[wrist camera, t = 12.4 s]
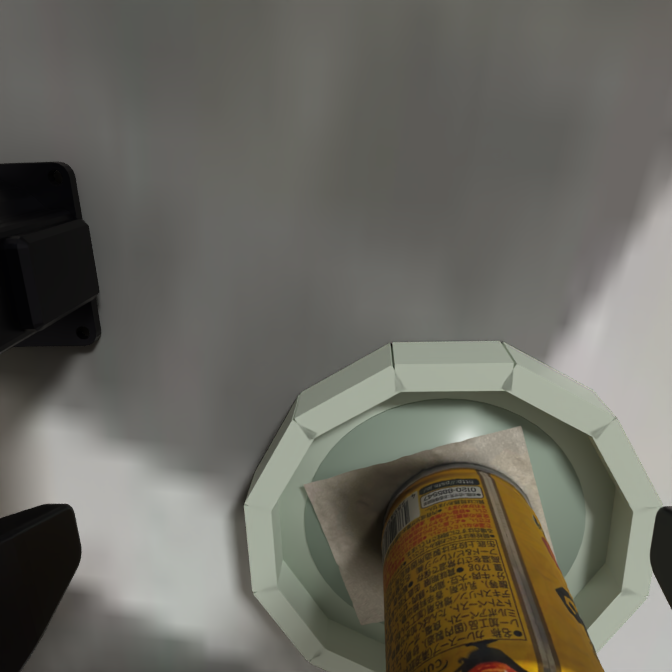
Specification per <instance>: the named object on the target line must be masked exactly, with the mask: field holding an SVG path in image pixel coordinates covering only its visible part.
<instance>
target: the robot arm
mask: <svg viewBox="0 0 672 672" xmlns="http://www.w3.org/2000/svg"><path fill="white" fill-rule="evenodd" d="M56 170H57V171H59V172H60V173H61V175H62V177H63V180H62V183H61V184H58V183H57V182H56V181H55V179H54V172H55V171H56ZM98 293H99V285H98V279H97V273H96V267H95V261H94V255H93V249H92V243H91V237H90V231H89V226H88V225H87V224H86V223H85V221H84V220H83V219H82V214H81V208H80V202H79V196H78V190H77V184H76V178H75V174H74V172H73V170H72V169H71V167H70V166H69V165H67V164H65V163H63V162H34V163H4V164H0V354H1V353H3V352H5V351H6V350H8V349H10V348H11V347H25V346H86V345H90V344H92V343H93V342H94V341H96V340H97V339H98V338H99V337H100V335H101V327H100V321H99V315H98V309H97V303H96V296H97V295H98ZM81 326H84V327H86V328H87V329H88V330H89V332H90V336H87V335H85V334H83V333H82V330H81ZM80 559H81V543H80V538H79V533H78V528H77V523H76V518H75V513H74V510H73V508H72V507H71V506H70V505H68V504H44V505H40V506H37V507H34V508H31V509H28V510H24V511H21V512H18V513H15V514H12V515H9V516H6V517H3V518H0V672H20V671H21V670H22V668H23V667H24V665H25V664H26V662H27V661H28V659H29V658H30V656H31V654H32V653H33V651H34V650H35V648H36V646H37V645H38V643H39V641H40V639H41V638H42V636H43V634H44V632H45V630H46V629H47V627H48V625H49V623H50V621H51V619H52V617H53V615H54V613H55V611H56V609H57V607H58V605H59V603H60V601H61V599H62V597H63V595H64V593H65V591H66V589H67V588H68V586H69V584H70V582H71V580H72V578H73V576H74V574H75V572H76V570H77V568H78V566H79V563H80ZM650 563H651V567H652V570H653V573H654V575H655V577H656V579H657V581H658V583H659V585H660V587H661V589H662V591H663V593H664V595H665V597H666V599H667V601H668V603H669V605H670V607H671V609H672V506H664V507H661V508H660V509H659V510H658V511H657V513H656V517H655V523H654V529H653V535H652V541H651V547H650Z"/></svg>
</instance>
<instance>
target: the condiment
mask: <svg viewBox="0 0 672 672" xmlns="http://www.w3.org/2000/svg"><path fill="white" fill-rule="evenodd" d="M304 488H305V490H306V492H307V495H308V497H309V499H310V501H311V503H312V505H313V507H314V510H315V513H316V515H317V517H318V519H319V522H320V524H321V527H322V529H323V532H324V534H325V536H326V538H327V541H328V543H329V546H330V548H331V551H332V553H333V556H334V558H335V561H336V563H337V565H338V566H339V570H340V573H341V576H342V579H343V581H344V583H345V586H346V589H347V591H348V593H349V596H350V598H351V600H352V603H353V607H354V609H355V612H356V614H357V617H358V619H359V622H360V624H361V625H366V624H370V623H378V622H382V621H384V628H385V659H386V672H604V670H603V668H602V666H601V664H600V661H599V659H598V657H597V655H596V651H595V648H594V645H593V643H592V642H591V639H590V637H589V634H588V632H587V629H586V627H585V625H584V623H583V621H582V619H581V618H580V616H579V613H578V611H577V608H576V605H575V603H574V601H573V597H572V596H571V594H570V592H569V589H568V587H567V583H566V581H565V579H564V577H563V575H562V572H561V570H560V568H559V566H558V564H557V560H556V556H555V553H554V549H553V545H552V542H551V538H550V535H549V531H548V527H547V523H546V519H545V516H544V512H543V508H542V504H541V500H540V497H539V493H538V489H537V485H536V481H535V478H534V474H533V469H532V465H531V462H530V458H529V454H528V450H527V446H526V442H525V438H524V435H523V431H522V427H521V426H518V427H514V428H511V429H507V430H502V431H498V432H494V433H490V434H486V435H482V436H477V437H473V438H470V439H466V440H464V441H461V442H455V443H450V444H446V445H442V446H438V447H435V448H433V449H431V450H424V451H421V452H418V453H415V454H412V455H409V456H404V457H401V458H399V459H396V460H393V461H390V462H387V463H380V464H376V465H372V466H369V467H365V468H360V469H356V470H352V471H349V472H345V473H342V474H340V475H337V476H334V477H331V478H328V479H324V480H319V481H315V482H311V483H308V484H304Z"/></svg>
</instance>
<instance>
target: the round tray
mask: <svg viewBox="0 0 672 672" xmlns="http://www.w3.org/2000/svg"><path fill="white" fill-rule="evenodd" d="M518 426H521V427H522V431H523V435H524V438H525V442H526V446H527V450H528V454H529V458H530V462H531V465H532V469H533V474H534V478H535V481H536V485H537V489H538V493H539V497H540V500H541V504H542V508H543V512H544V516H545V519H546V523H547V527H548V531H549V535H550V538H551V542H552V545H553V549H554V553H555V556H556V560H557V564H558V566H559V568H560V570H561V572H562V575H563V577H564V579H565V581H566V583H567V587H568V589H569V592H570V594H571V596H572V597H573V601H574V603H575V605H576V608H577V611H578V613H579V616H580V618H581V619H582V621H583V623H584V625H585V627H586V629H587V632H588V634H589V637H590V639H591V642H592V643H593V645H594V648H595V651H596V654H597V653H598V652H599V651H600V649H601V648H602V647H603V646H604V645H605V644H606V643H607V642H608V641H609V640H610V638H611V637H612V636H613V635H614V634H615V633H616V632H617V631H618V630H619V629H620V628H621V626H622V625H623V624H624V623H625V622H626V621H627V620H628V619H629V618H630V617H631V616H632V614H633V613H634V612H635V611H636V610H637V609H638V608H639V607H640V606H641V605H642V603H643V602H644V601H645V600H646V599H647V598H646V596H648V595H649V589H650V583H651V577H652V571H653V570H652V567H651V563H650V547H651V541H652V535H653V529H654V523H655V517H656V513H657V511H658V510H659V509H660V508H661V507H663V506H662V505H663V504H662V502H661V500H660V498H659V496H658V494H657V493H656V491H655V489H654V487H653V485H652V483H651V481H650V479H649V477H648V476H647V474H646V472H645V470H644V468H643V466H642V464H641V462H640V460H639V458H638V457H637V455H636V453H635V451H634V449H633V447H632V445H631V443H630V441H629V439H628V438H627V436H626V434H625V432H624V430H623V428H622V426H621V424H620V422H619V421H618V419H617V417H616V416H615V415H614V414H613V413H612V412H611V411H610V409H609V408H608V407H607V406H606V405H605V404H604V403H603V401H602V400H601V399H600V398H599V397H598V396H597V395H596V393H595V392H594V391H593V390H591V389H590V388H588V387H586V386H584V385H582V384H580V383H579V382H577V381H575V380H573V379H571V378H569V377H567V376H566V375H564V374H562V373H560V372H558V371H556V370H554V369H553V368H551V367H549V366H547V365H545V364H543V363H542V362H540V361H538V360H536V359H534V358H532V357H530V356H529V355H527V354H525V353H523V352H521V351H519V350H517V349H516V348H514V347H512V346H510V345H508V344H506V343H504V342H502V344H501V342H500V341H454V342H392V347H391V345H390V344H387V345H385V346H383V347H382V348H380V349H378V350H376V351H374V352H373V353H371V354H369V355H367V356H365V357H364V358H362V359H360V360H358V361H356V362H355V363H353V364H351V365H349V366H347V367H346V368H344V369H342V370H340V371H338V372H337V373H335V374H333V375H331V376H330V377H328V378H326V379H324V380H322V381H321V382H319V383H317V384H315V385H313V386H312V387H310V388H308V389H306V390H304V391H303V392H301V394H300V395H298V397H297V399H296V400H295V402H294V404H293V406H292V407H291V409H290V411H289V413H288V415H287V416H286V418H285V420H284V422H283V423H282V425H281V427H280V429H279V430H278V432H277V434H276V436H275V437H274V439H273V441H272V443H271V445H270V446H269V448H268V450H267V452H266V453H265V455H264V457H263V459H262V460H261V462H260V464H259V466H258V468H257V469H256V471H255V474H254V477H253V480H252V483H251V486H250V489H249V492H248V495H247V498H246V501H245V504H244V512H245V522H246V533H247V543H248V553H249V564H250V574H251V584H252V592H254V593H253V594H254V596H255V597H256V598H257V599H258V601H259V602H260V603H261V604H262V606H263V607H264V608H265V609H266V611H267V612H268V613H269V614H270V616H271V617H272V618H273V619H274V621H275V622H276V623H277V624H278V626H279V627H280V628H281V629H282V631H283V632H284V633H285V634H286V636H287V637H288V638H289V639H290V641H291V642H292V643H293V644H294V646H295V647H296V648H297V650H298V651H299V652H300V653H301V655H302V656H303V657H304V658H305V660H306V661H309V663H310V664H312V665H314V666H317V667H319V668H321V669H323V670H326V671H328V672H386V659H385V628H384V621H382V622H378V623H370V624H366V625H361V624H360V622H359V619H358V617H357V614H356V612H355V609H354V607H353V603H352V600H351V598H350V596H349V593H348V591H347V589H346V586H345V583H344V581H343V579H342V576H341V573H340V570H339V566H338V565H337V563H336V561H335V558H334V556H333V553H332V551H331V548H330V546H329V543H328V541H327V538H326V536H325V534H324V532H323V529H322V527H321V524H320V522H319V519H318V517H317V515H316V513H315V510H314V507H313V505H312V503H311V501H310V499H309V497H308V495H307V492H306V490H305V488H304V484H308V483H311V482H315V481H319V480H324V479H328V478H331V477H334V476H337V475H340V474H342V473H345V472H349V471H352V470H356V469H360V468H365V467H369V466H372V465H376V464H380V463H387V462H390V461H393V460H396V459H399V458H401V457H404V456H409V455H412V454H415V453H418V452H421V451H424V450H431V449H433V448H435V447H438V446H442V445H446V444H450V443H455V442H461V441H464V440H466V439H470V438H473V437H477V436H482V435H486V434H490V433H494V432H498V431H502V430H507V429H511V428H514V427H518Z"/></svg>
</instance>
